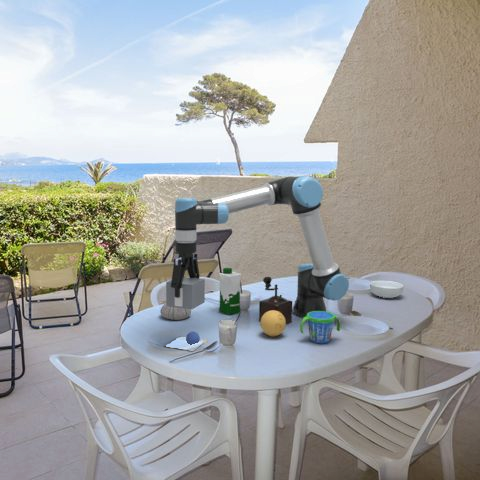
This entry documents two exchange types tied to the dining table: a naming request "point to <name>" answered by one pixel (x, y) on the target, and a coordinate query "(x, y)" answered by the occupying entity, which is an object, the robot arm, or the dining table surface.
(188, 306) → the grey cube
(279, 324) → the stress ball
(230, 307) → the milk carton
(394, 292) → the cereal bowl
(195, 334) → the ball
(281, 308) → the coffee grinder
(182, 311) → the sea urchin shell
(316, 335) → the snack cup
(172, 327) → the dining table surface
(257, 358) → the dining table surface
